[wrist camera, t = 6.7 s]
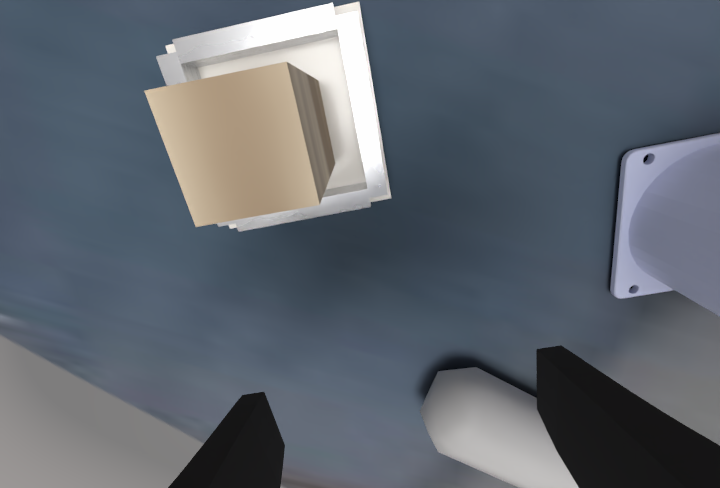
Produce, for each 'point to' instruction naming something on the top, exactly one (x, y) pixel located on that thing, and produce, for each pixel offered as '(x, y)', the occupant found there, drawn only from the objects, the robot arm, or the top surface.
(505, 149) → the top surface
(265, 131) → the wooden block
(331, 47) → the tile
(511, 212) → the top surface
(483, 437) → the tube
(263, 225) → the white square tray
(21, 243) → the top surface
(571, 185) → the top surface
